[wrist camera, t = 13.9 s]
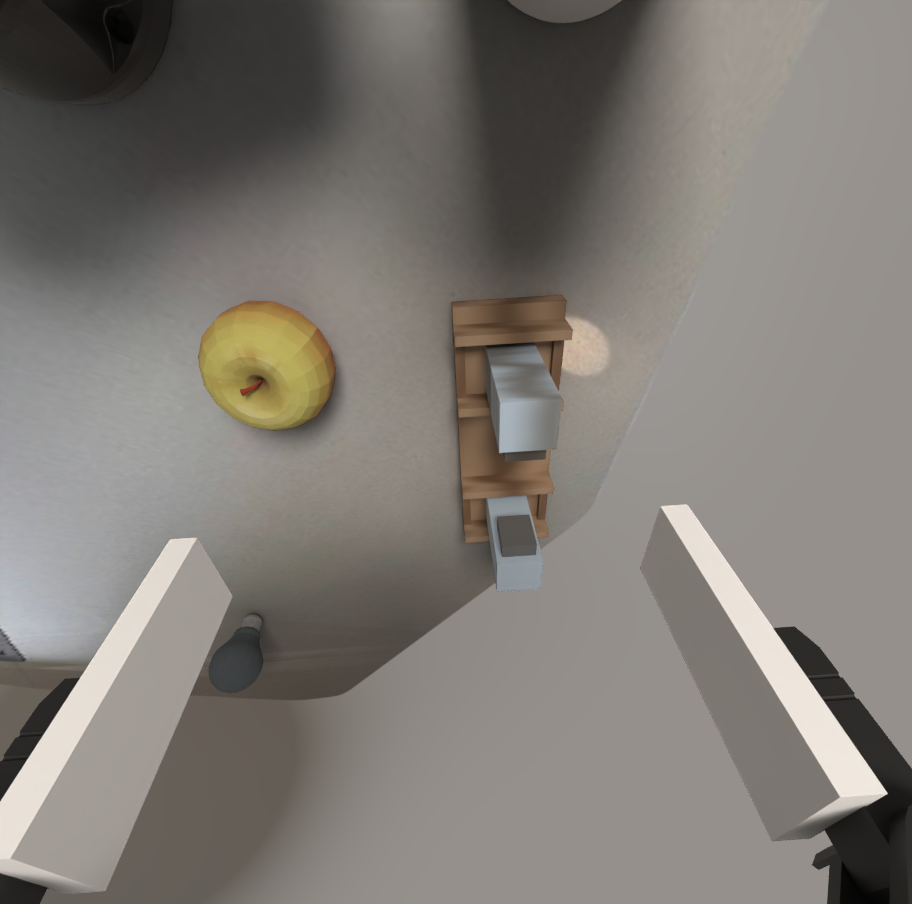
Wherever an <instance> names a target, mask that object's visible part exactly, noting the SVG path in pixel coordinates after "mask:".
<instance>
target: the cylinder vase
mask: <svg viewBox="0 0 912 904" xmlns="http://www.w3.org/2000/svg"><path fill="white" fill-rule="evenodd" d="M508 1H509V2H510V3H511V4H512V5H513V6H515V7H516V8H518V9H519V10H521V11H522V12H524V13H526V14H527V15H529V16H532V17H534V18H537V19H539V20H543V21H547V22H553V23H571V22H578V21H582V20H586V19H589V18H592V17H594V16H597V15H599V14H601V13H603V12H605V11H607V10H608V9H610V8H612V7H613V6H615V5H616V4H618V3H619V2H620V1H622V0H508Z"/></svg>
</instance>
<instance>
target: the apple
mask: <svg viewBox="0 0 912 904" xmlns="http://www.w3.org/2000/svg"><path fill="white" fill-rule="evenodd" d="M198 358H199V367H200V371H201V375H202V379H203V383H204V386H205V387H206V389H207V390H208V392H209V393H210V395H211V396H212V398H213V399H214V401H215V402H216V404H218V405H219V406H220V407H221V408H222V409H223V410H225V411H226V412H227V413H228V414H229V415H231V416H232V417H233V418H235V419H237V420H239V421H241V422H243V423H245V424H247V425H250V426H252V427H256V428H262V429H268V430H274V431H275V430H282V429H288V428H294V427H297V426H300V425H302V424H303V423H305V422H307V421H309V420H310V419H312V418H314V417H316V416H317V414H318V413H319V412H320V410H321V409H322V407H323V406H324V404H325V403H326V402H327V400H328V398H329V397H330V395H331V392H332V388H333V382H334V376H335V370H336V367H335V363H334V359H333V355H332V351H331V347H330V346H329V344H328V343H327V341H326V340H325V338H324V337H323V335H322V334H321V332H320V331H319V329H318V327H316V326H315V325H314V324H313V323H312V322H310V321H309V320H308V319H307V318H305V317H304V316H303V315H302V314H300V313H299V312H298V311H296V310H293V309H291V308H288V307H286V306H283V305H281V304H278V303H275V302H269V301H248V302H245V303H243V304H240V305H238V306H235V307H233V308H230V309H228V310H226V311H225V312H223V313H221V314H220V315H219V317H218V318H217V319H216V320H215V321H214V322H213V324H212V325H211V326H210V327H209V328H208V330H207V331H206V332H205V333H204V334H203V336H202V340H201V345H200V351H199V356H198Z"/></svg>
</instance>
